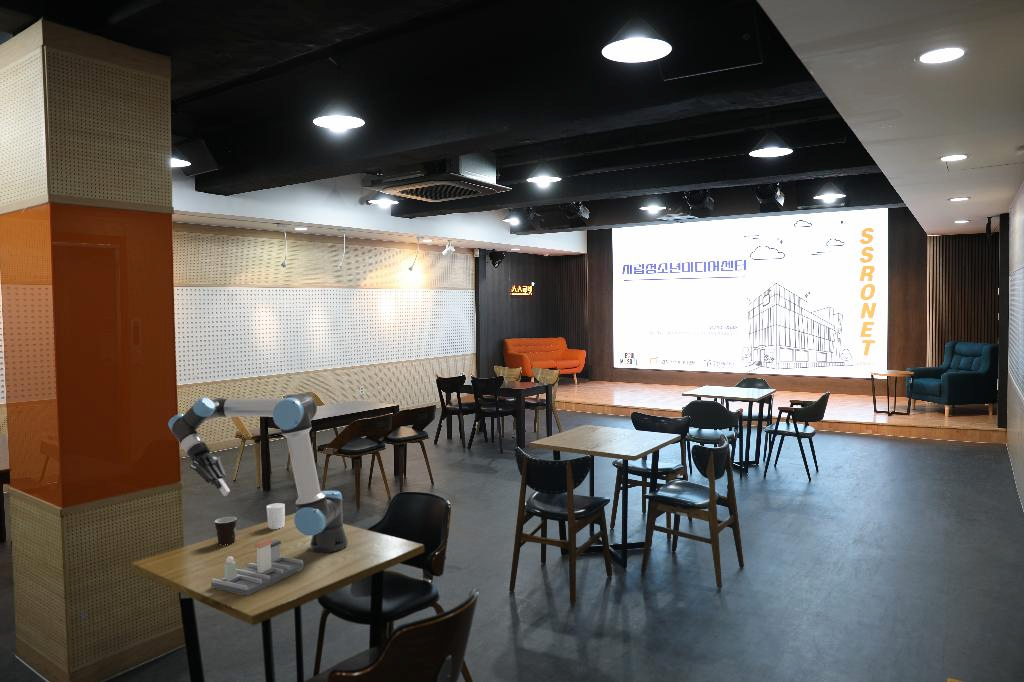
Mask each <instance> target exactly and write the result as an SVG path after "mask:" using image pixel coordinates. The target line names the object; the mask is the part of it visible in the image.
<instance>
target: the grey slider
mask: <svg viewBox="0 0 1024 682" xmlns="http://www.w3.org/2000/svg"><path fill="white" fill-rule="evenodd" d="M281 543H282V540H279V539H274V540H272V544H270V547H271V562H272V563H276V562H278V561H280V560H282V557H280V556H281V549H280V548H281V547H280V545H281Z"/></svg>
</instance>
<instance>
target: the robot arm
mask: <svg viewBox="0 0 1024 682" xmlns="http://www.w3.org/2000/svg"><path fill="white" fill-rule="evenodd" d="M317 410H318V405H317V402H316V400H315V399H314V397H312V396H311V395H308V394H305V393H302V394H293V395H286V396H285V397H274V398H273V397H269V398H266V397H264V398H262V397H261V398H257V397H255V398H226V397H218V398H217V397H216V398H214V399H211V398H209V397H205V396H204V397H203V396H202V397H199V399H198V400H196V401H195V402H194V403H193V405H192V406H191V407H190V408H189V409H188V410H187V411H186V412H185V413H178V414H175V415H174V416H173V417H171V418H170V419H169V420H168V423H167V424H168V425H167V426H168V427H169V429H170V431H171V433H172V435H174V437H175V438H176V440H177V441H178V443H179V445H180V446H181V447H182V449H183V450H184V452H185V453H186V454H187V456H188V457H189V459H190V461H192V463H191V464H190V466H189V468H190V469H191V470H194V471H195V473H197V474H198V475H199V476H200V477H201V478H202V479H203V480H204V481H205V482H206V483H207V484H211V485H214V486H215V487H216V489H217V490H219V491H220V493H221V494H222V496H223V497H226V496H228V494H230V493H231V489H230V488H229V487H228V483H227V482H226V480H225V479H224V478H225V477H226V475H227V474H226V471H225V469H224V466H223V464H222V461H221V456H219V455H218V456H214V455H213V454H212V453H211V452H210V449H209V447H208V445H207V444H206V443H205V442H204V441H205V440H204V439H202V437H201V435H200V434H199V433H198V428H200V427H201V426H202V425H203V424H204V422H206V421H208V420H212V419H216V418H230V417H231V418H232V417H233V418H234V417H236V418H237V417H238V418H241V417H243V418H245V417H247V418H249V417H253V418H254V417H255V418H256V417H257V418H258V417H259V418H260V417H263V418H264V417H270V418H271V417H272V420H273V422H274V425H276V426H277V427H278V428H279V429H280V433H281V434H280V435H282V436H283V437H285V438H286V443H287V447H288V452H289V456H290V462H291V467H292V472H293V477H294V481H295V487H296V491H297V499H296V501H295V509H296V513H295V515H294V518H293V521H294V523H293V524H294V526H295V528H296V529H297V531H298V532H300V533H301V534H303V535H305V536H308V537H309V536H311V539H310V541H309V548H310V551H312V550H313V551H312V552H314V551H315V552H314V553H319V552H327V553H333V552H332V551H334V552H338V551H340V550H339V549H341V550H343V549H342V548H344V547H345V546H347V545H349V539H348V536H347V533H346V531H345V529H344V524H343V523H344V522H343V521H344V519H343V517H344V516H343V496H342V493H341V491H338V490H321V485H320V482H319V477H318V472H317V467H316V462H315V456H314V452H313V447H312V442H311V441H312V440H311V436H310V431H311V429H312V428H313V427H312V420H313V419H314V417H315V416H316V415H317ZM347 547H348V546H347ZM344 549H345V548H344ZM337 550H338V551H337Z"/></svg>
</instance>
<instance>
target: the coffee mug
mask: <svg viewBox="0 0 1024 682" xmlns="http://www.w3.org/2000/svg"><path fill="white" fill-rule="evenodd" d="M214 524H215V525H214V526H215V531H216V532H215V533H216V537H217V542H218V545H219V544H221V545H225V544H226V546H228V545H227V544H231V545H233V544H235V543H234V542H236V534H237V533H236V531H237V530H236V529H237V517H235V516H226V517H221V518H217V519H215V520H214ZM232 543H233V544H232ZM221 545H220V546H221Z"/></svg>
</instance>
